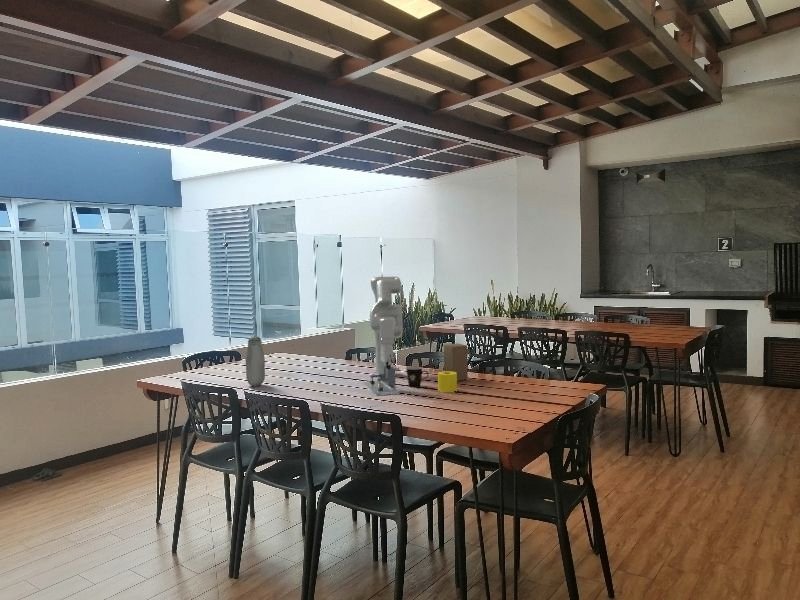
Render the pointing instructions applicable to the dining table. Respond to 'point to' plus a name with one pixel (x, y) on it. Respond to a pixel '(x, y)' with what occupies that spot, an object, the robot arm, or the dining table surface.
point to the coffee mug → (415, 376)
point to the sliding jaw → (389, 377)
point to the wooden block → (456, 360)
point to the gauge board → (383, 387)
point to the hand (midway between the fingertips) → (387, 374)
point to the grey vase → (255, 362)
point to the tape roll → (447, 381)
